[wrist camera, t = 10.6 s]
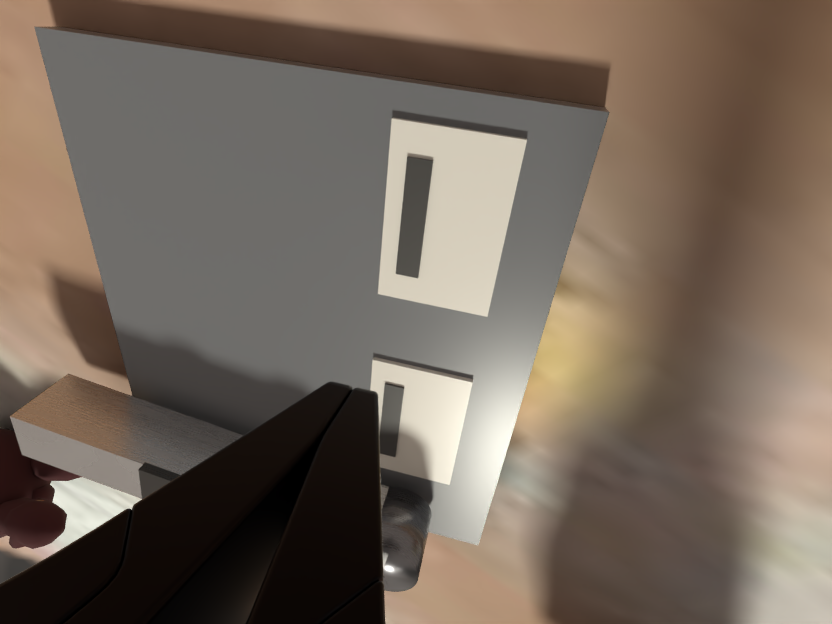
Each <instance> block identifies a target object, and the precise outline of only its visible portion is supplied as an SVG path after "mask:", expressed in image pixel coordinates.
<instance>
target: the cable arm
mask: <svg viewBox="0 0 832 624" xmlns="http://www.w3.org/2000/svg"><path fill="white" fill-rule="evenodd" d="M10 419H11V422H12V425H13V428H14V431H15V434H16V437H17V441H18V444H19V447H20V450H21V453H22V455H24V456H27V457H30V458H32V459H35V460H38V461H40V462H43V463H46V464H49V465H51V466H54V467H57V468H60V469H62V470H65V471H68V472H70V473H73V474H76V475H79V476H81V477H84V478H87V479H90V480H92V481H95V482H98V483H100V484H103V485H106V486H109V487H111V488H114V489H117V490H120V491H122V492H125V493H128V494H130V495H133V496H136V497H139V498H141V499H144V498H145V497H147V496H148V495H150V494H152V493H153V492H155V491H156V490H158V489H160V488H161V487H163V486H164V485H166V484H167V483H169V482H171V481H172V480H174V479H175V478H177V477H179V476H180V475H182V474H183V473H185V472H186V471H188V470H190V469H191V468H193V467H194V466H196V465H197V464H199V463H201V462H202V461H204V460H205V459H207V458H209V457H210V456H212V455H213V454H215V453H216V452H218V451H220V450H221V449H223V448H224V447H226V446H227V445H229V444H231V443H232V442H234V441H235V440H237V439H239V438H240V437H242V436H243V435H241V434H238V433H235V432H232V431H229V430H227V429H224V428H221V427H218V426H215V425H212V424H210V423H207V422H204V421H201V420H198V419H195V418H193V417H190V416H187V415H184V414H181V413H178V412H176V411H173V410H170V409H167V408H164V407H162V406H159V405H156V404H153V403H150V402H147V401H145V400H142V399H139V398H136V397H133V396H130V395H128V394H125V393H122V392H119V391H116V390H113V389H111V388H108V387H105V386H102V385H99V384H96V383H94V382H91V381H88V380H85V379H82V378H79V377H77V376H74V375H71V374H67V375H66V376H64V377H63V378H62V379H60V380H59V381H58V382H56V383H55V384H53V385H52V386H51V387H49V388H48V389H47V390H45V391H44V392H42V393H41V394H40V395H38V396H37V397H36V398H34V399H33V400H31V401H30V402H29V403H27V404H26V405H25V406H23V407H22V408H21V409H19V410H18V411H16V412H15V413H14V414H12V415H11V416H10ZM381 509H382V544H383V584H384V590H386V591H393V592H399V591H405V590H408V589H411V588H412V587H414V586H415V585H416V583H417V581H418V577H419V572H420V567H421V563H422V558H423V554H424V549H425V545H426V540H427V536H428V531H429V526H430V522H431V517H432V512H431V509H430V507H429V505H428V503H427V502H426V501H425V500H424V499H423V498H422V497H420V496H419V495H418V494H416V493H414V492H412V491H410V490H407V489H404V488H400V487H388V486H385V485H382V484H381Z"/></svg>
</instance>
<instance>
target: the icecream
mask: <svg viewBox="0 0 832 624" xmlns="http://www.w3.org/2000/svg"><path fill="white" fill-rule="evenodd" d="M80 477H81V476H79V475H76V474H73V473H70V472H68V471H65V470H62V469H60V468H57V467H54V466H51V465H49V464H46V463H43V462H40V461H38V460H35V459H32V458H30V457H27V456H24V455H22V453H21V450H20V447H19V444H18V441H17V437H16V434H15V431H13V430H7V429H0V538H1V537H4V536H6V535H7V536H10V540H9V544H10V545H11V546H12V548H20V547H24V546H26V547H29V548H32V549H34V548H38V547H42V546H45V545H47V544H50V543H52V542H53V541H54V540H55V539H56V538H57V537H58V536H60V535H61V534H62V533H63V531H64V529H65V523H66V517H67V514H66V513H65V511H64V510H63V509H61V508H60V507H59V506H57V505H56V504H54V503H52V501H53V497H54V492H55V490H54V488H53V487H52V486H51V485H50V483H51V481H69V480H72V479H76V478H80Z"/></svg>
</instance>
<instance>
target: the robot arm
mask: <svg viewBox="0 0 832 624" xmlns="http://www.w3.org/2000/svg"><path fill="white" fill-rule="evenodd" d="M0 624H385V604H384V584H383V544H382V509H381V474H380V439H379V403H378V394H377V392H375V391H371V390H367V389H363V388H359V387H357V388H354V389H353V388H352V387H351V386H350V385H346V384H342V383H337V382H332V381H331V382H327V383H325V384H324V385H322V386H321V387H319V388H318V389H316V390H314V391H313V392H311V393H310V394H308V395H307V396H305V397H303V398H302V399H300V400H299V401H297V402H295V403H294V404H292V405H291V406H289V407H288V408H286V409H284V410H283V411H281V412H280V413H278V414H276V415H275V416H273V417H272V418H270V419H269V420H267V421H265V422H264V423H262V424H261V425H259V426H258V427H256V428H254V429H253V430H251V431H250V432H248V433H246V434H245V435H243V436H242V437H240V438H239V439H237V440H235V441H234V442H232V443H231V444H229V445H227V446H226V447H224V448H223V449H221V450H220V451H218V452H216V453H215V454H213V455H212V456H210V457H209V458H207V459H205V460H204V461H202V462H201V463H199V464H197V465H196V466H194V467H193V468H191V469H190V470H188V471H186V472H185V473H183V474H182V475H180V476H179V477H177V478H175V479H174V480H172V481H171V482H169V483H167V484H166V485H164V486H163V487H161V488H160V489H158V490H156V491H155V492H153V493H152V494H150V495H148V496H147V497H145V498H144V499H142V500H141V501H139V502H137V503H136V504H134V506H133V508H132V510H131V509H126V510H124V511H123V512H121V513H120V514H118V515H116V516H115V517H113V518H112V519H110V520H109V521H107V522H105V523H104V524H102V525H101V526H99V527H97V528H96V529H94V530H92V531H91V532H89V533H88V534H86V535H84V536H83V537H81V538H79V539H78V540H76V541H74V542H73V543H71V544H69V545H68V546H66V547H64V548H63V549H61V550H59V551H58V552H56V553H54V554H53V555H51V556H49V557H48V558H46V559H44V560H42V561H40V562H39V563H37V564H35V565H33V566H31V567H30V568H28V569H26V570H24V571H23V572H21V573H19V574H17V575H15V576H14V577H12V578H10V579H8V580H6V581H5V582H3V583H1V584H0Z"/></svg>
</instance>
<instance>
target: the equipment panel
mask: <svg viewBox="0 0 832 624" xmlns="http://www.w3.org/2000/svg"><path fill="white" fill-rule="evenodd" d="M35 31H36V35H37V38H38V42H39V46H40V50H41V53H42V57H43V61H44V65H45V68H46V72H47V76H48V80H49V83H50V87H51V91H52V95H53V98H54V102H55V106H56V110H57V113H58V117H59V121H60V125H61V128H62V132H63V136H64V140H65V144H66V147H67V151H68V155H69V159H70V162H71V166H72V170H73V174H74V177H75V181H76V185H77V189H78V192H79V196H80V200H81V204H82V207H83V211H84V215H85V219H86V222H87V226H88V230H89V234H90V237H91V241H92V245H93V249H94V252H95V256H96V260H97V264H98V267H99V271H100V275H101V279H102V282H103V286H104V290H105V294H106V297H107V301H108V305H109V309H110V312H111V316H112V320H113V324H114V327H115V331H116V335H117V339H118V342H119V346H120V350H121V354H122V357H123V361H124V365H125V369H126V372H127V376H128V380H129V384H130V387H131V391H132V395H133V397H136V398H139V399H142V400H145V401H147V402H150V403H153V404H156V405H159V406H162V407H164V408H167V409H170V410H173V411H176V412H178V413H181V414H184V415H187V416H190V417H193V418H195V419H198V420H201V421H204V422H207V423H210V424H212V425H215V426H218V427H221V428H224V429H227V430H229V431H232V432H235V433H238V434H241V435H245V434H246V433H248V432H250V431H251V430H253V429H254V428H256V427H258V426H259V425H261V424H262V423H264V422H265V421H267V420H269V419H270V418H272V417H273V416H275V415H276V414H278V413H280V412H281V411H283V410H284V409H286V408H288V407H289V406H291V405H292V404H294V403H295V402H297V401H299V400H300V399H302V398H303V397H305V396H307V395H308V394H310V393H311V392H313V391H314V390H316V389H318V388H319V387H321V386H322V385H324V384H325V383H327V382H331V381H332V382H337V383H342V384H346V385H350V386H351V387H352V388H353V389H354V388H357V387H359V388H363V389H367V390H371V391H375V392H377V394H378V403H379V439H380V474H381V484H382V485H385V486H388V487H400V488H404V489H407V490H410V491H412V492H414V493H416V494H418V495H419V496H420V497H422V498H423V499H424V500H425V501H426V502H427V503H428V505H429V507H430V509H431V512H432V517H431V522H430V526H429V531H428V532H430V533H434V534H438V535H442V536H445V537H449V538H453V539H456V540H460V541H464V542H467V543H471V544H475V545H478V544H479V541H480V538H481V535H482V531H483V528H484V525H485V521H486V518H487V515H488V511H489V508H490V505H491V502H492V498H493V495H494V492H495V488H496V485H497V482H498V478H499V475H500V472H501V469H502V465H503V462H504V459H505V455H506V452H507V449H508V445H509V442H510V439H511V435H512V432H513V429H514V426H515V422H516V419H517V416H518V412H519V409H520V406H521V402H522V399H523V396H524V393H525V389H526V386H527V383H528V379H529V376H530V373H531V369H532V366H533V363H534V360H535V356H536V353H537V350H538V346H539V343H540V340H541V336H542V333H543V330H544V326H545V323H546V320H547V317H548V313H549V310H550V307H551V303H552V300H553V297H554V293H555V290H556V287H557V284H558V280H559V277H560V274H561V270H562V267H563V264H564V260H565V257H566V254H567V251H568V247H569V244H570V241H571V237H572V234H573V231H574V227H575V224H576V221H577V218H578V214H579V211H580V208H581V204H582V201H583V198H584V194H585V191H586V188H587V184H588V181H589V178H590V175H591V171H592V168H593V165H594V161H595V158H596V155H597V151H598V148H599V145H600V142H601V138H602V135H603V132H604V128H605V125H606V122H607V118H608V115H609V111H608V110H607V109H606V108H605V107H599V106H592V105H585V104H578V103H572V102H565V101H558V100H551V99H545V98H538V97H531V96H524V95H518V94H511V93H504V92H497V91H491V90H484V89H477V88H470V87H463V86H457V85H450V84H443V83H436V82H430V81H423V80H416V79H409V78H403V77H396V76H389V75H382V74H375V73H369V72H362V71H355V70H348V69H342V68H335V67H328V66H321V65H315V64H308V63H301V62H294V61H288V60H281V59H274V58H267V57H260V56H254V55H247V54H240V53H233V52H227V51H220V50H213V49H206V48H200V47H193V46H186V45H179V44H172V43H166V42H159V41H152V40H145V39H139V38H132V37H125V36H118V35H112V34H105V33H98V32H91V31H85V30H78V29H71V28H64V27H35Z"/></svg>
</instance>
